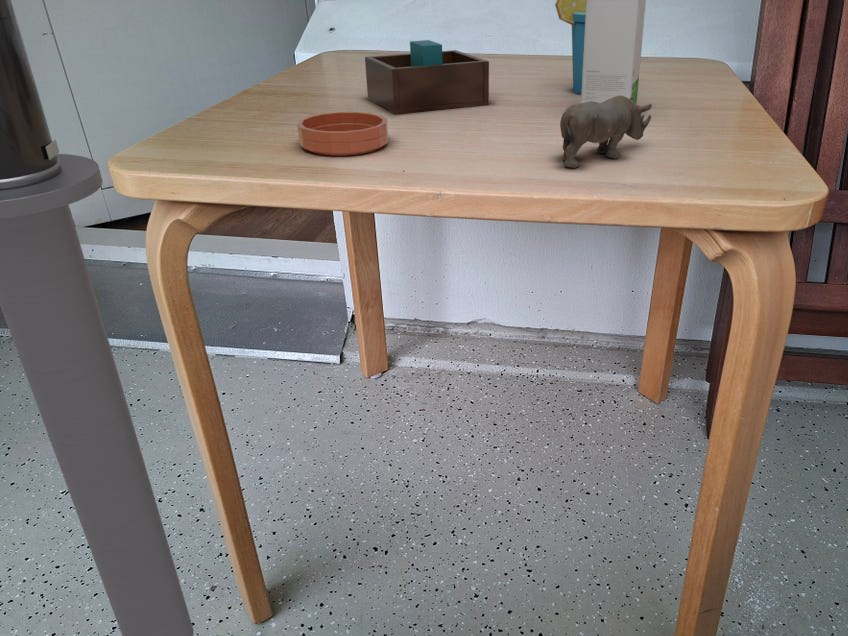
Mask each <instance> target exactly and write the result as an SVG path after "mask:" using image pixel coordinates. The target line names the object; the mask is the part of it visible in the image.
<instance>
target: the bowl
mask: <svg viewBox="0 0 848 636" xmlns="http://www.w3.org/2000/svg"><path fill="white" fill-rule="evenodd" d="M296 127H297V136H298V142H299V145H300V147H302V148H303V149H304V150H306V151H309V152H311V153H314V154H316V155H322V156H333V157H334V156H335V157H336V156H337V157H342V156H343V157H344V156H346V157H347V156H356V155H362V154H368V153H371V152H375V151H377V150H379V149H381V148H382V147H383V146H385V145H387V144H388V142H389V130H388V118H386V117H384V116H383V115H381V114H378V113H372V112H365V111H332V112H322V113H318V114H313V115H309V116H307V117H304V118H301V119H300V120H299V121H298V122H297V124H296Z"/></svg>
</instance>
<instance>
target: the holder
mask: <svg viewBox="0 0 848 636" xmlns="http://www.w3.org/2000/svg"><path fill="white" fill-rule="evenodd" d="M442 62H443V64H437V65H425V66H412V67H411V55H410V53H399V54H397V53H396V54H385V55H372V56H371V55H369V56H364V64H365V66H364V67H365V77H366V92H367V99H368V100H369V101H371V102H372V103H374V104H376V105H378V106H379V107H381V108H383V109H385V110H386V111H388V112H390V113H391V114H393V115H401V114H402V115H404V114H412V113H419V112H421V113H422V112H429V111H430V112H431V111H441V110H448V109H449V110H450V109H456V108H457V109H459V108H467V107H478V106H487V105H489V103H490V94H489V93H490V91H489V90H490V61H489V60H486V59H483V58H481V57H477V56H474V55H471V54H468V53H465V52H462V51H460V50H457V49H453V50H442Z"/></svg>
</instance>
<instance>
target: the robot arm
mask: <svg viewBox="0 0 848 636" xmlns="http://www.w3.org/2000/svg"><path fill="white" fill-rule="evenodd" d="M27 53H28V52H27V49H26V46H25V43H24V39H23V35H22V32H21V29H20V25H19V23H18V19H17V16H16V11H15V9H14V6H13V1H12V0H0V190H5V189H13V188H19V187H24V186H28V185H33V184H36V183H40V182H43V181H46V180H48V179H51V178H53V177H55V176H56V175H58V174H59V173H60V172H61V170H62V169H61V165H60V162H59V159H58V158H57V156H56V155H57V154H60V149H59V146H58V143H57V140H56V139H54V140H53V139H52V136H51V135H52V134H51V132H50V128H49V125H48V122H47V119H46V115H45V111H44V108H43V105H42V101H41V98H40V94H39V91H38V87H37V83H36V80H35V77H34V73H33V70H32V66H31V64H30V60H29V56H28V54H27Z"/></svg>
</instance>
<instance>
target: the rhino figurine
mask: <svg viewBox="0 0 848 636" xmlns="http://www.w3.org/2000/svg"><path fill="white" fill-rule="evenodd" d="M652 107H653V104H652V103H648V104H646V105H639V104H638V103H637V104H635V103H634V99H633V98H632V97H631V98H630V99H628V98H627V97H625V96H621V95H619V96H615V97H613V98H611V99H608V100H606V101H604V102H602V103H597V102H593V101H589V102H585V103H581V102H580V103H577V104H574V105H571V106H569V107H568V108H566V110H565V111H564V112H563V113H562V115H561V118H560V122H559V127H560V128H559V129H560V133H561V138H563V141H562V150H563V154H562V156H561V159H562V161H564V162H563V166H564V167H565V168H566V167H567V168H574V169H575V168H577V167H580V162H579V161H578V160H577V157H576V156H577V153H578V152H579V151H580V149H581V148H582V147H583V146H584V145H585V144H586V143H587V142H588V143H591V144H598V147H597V148H596V152H597V153H599V154H605V155H606V156H607V157H609V158H611V159H619V158H620V157H621V153H620V152H619V151H618V150H617V146H618V145H619V143H620V142H621V141H622V139H623V138H624V136H625V135H626V136H628V137H630V138H631V139H632V140H633V139H634V140H636V141H639V140H641V138H643V137H644V132H645V130H646V129H647V127H648V125H649V123H650V122H651V119H652V114H649V115H648V116H647V118H646V119H645V114H643V113H645V112H648V111H650V110H651V108H652ZM644 119H645V120H644Z"/></svg>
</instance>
